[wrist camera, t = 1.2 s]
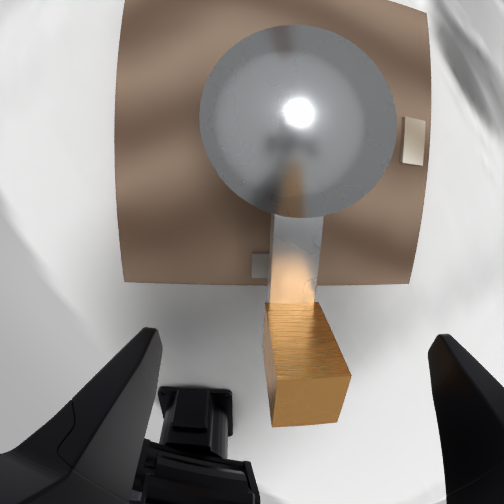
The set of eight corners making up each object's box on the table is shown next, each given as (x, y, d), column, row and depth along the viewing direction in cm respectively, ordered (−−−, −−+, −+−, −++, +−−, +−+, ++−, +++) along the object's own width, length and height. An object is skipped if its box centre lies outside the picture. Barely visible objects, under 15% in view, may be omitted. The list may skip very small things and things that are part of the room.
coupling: (347, 312, 18) (402, 411, 10) (208, 313, 17) (192, 426, 10) (370, 57, 13) (466, 11, 5) (210, 42, 12) (185, -42, 5)
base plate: (400, 275, 22) (428, 303, 18) (131, 272, 21) (109, 303, 17) (416, 18, 16) (449, 1, 11) (133, -5, 15) (111, -32, 10)
